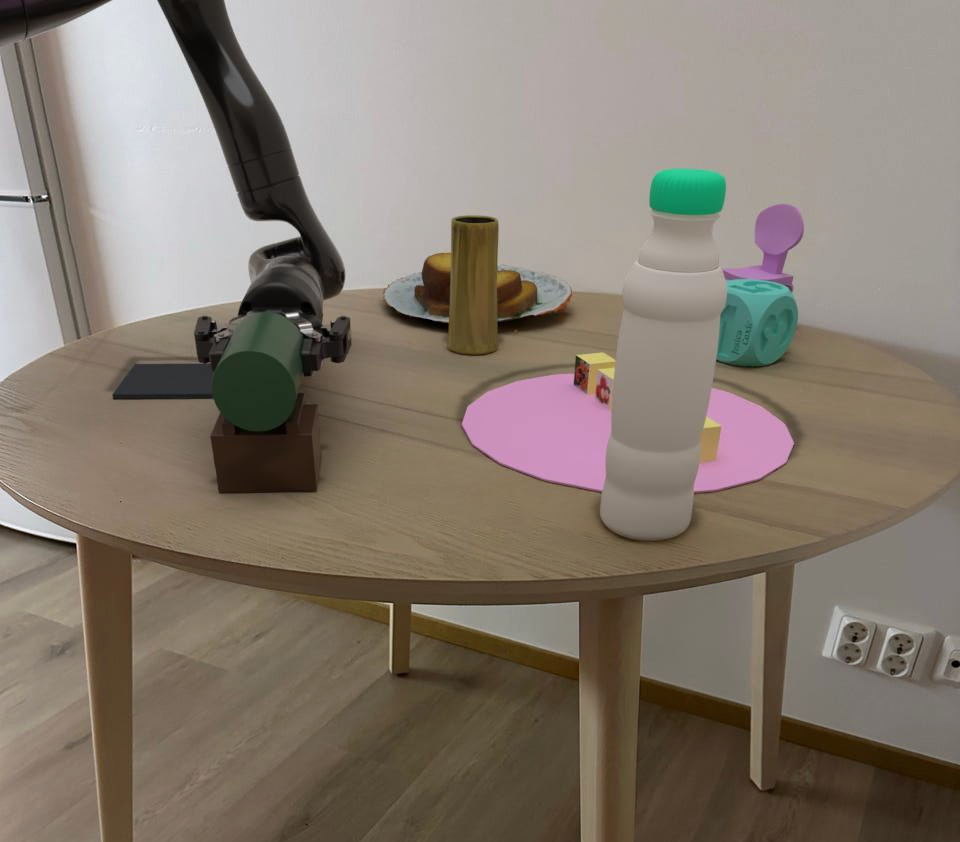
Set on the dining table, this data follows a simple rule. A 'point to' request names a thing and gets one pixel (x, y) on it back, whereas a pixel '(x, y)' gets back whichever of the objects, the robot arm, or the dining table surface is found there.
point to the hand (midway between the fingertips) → (264, 364)
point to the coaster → (166, 382)
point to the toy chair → (773, 245)
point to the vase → (473, 285)
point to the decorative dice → (756, 322)
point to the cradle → (269, 454)
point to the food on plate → (515, 292)
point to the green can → (259, 372)
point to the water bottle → (665, 360)
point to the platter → (587, 427)
